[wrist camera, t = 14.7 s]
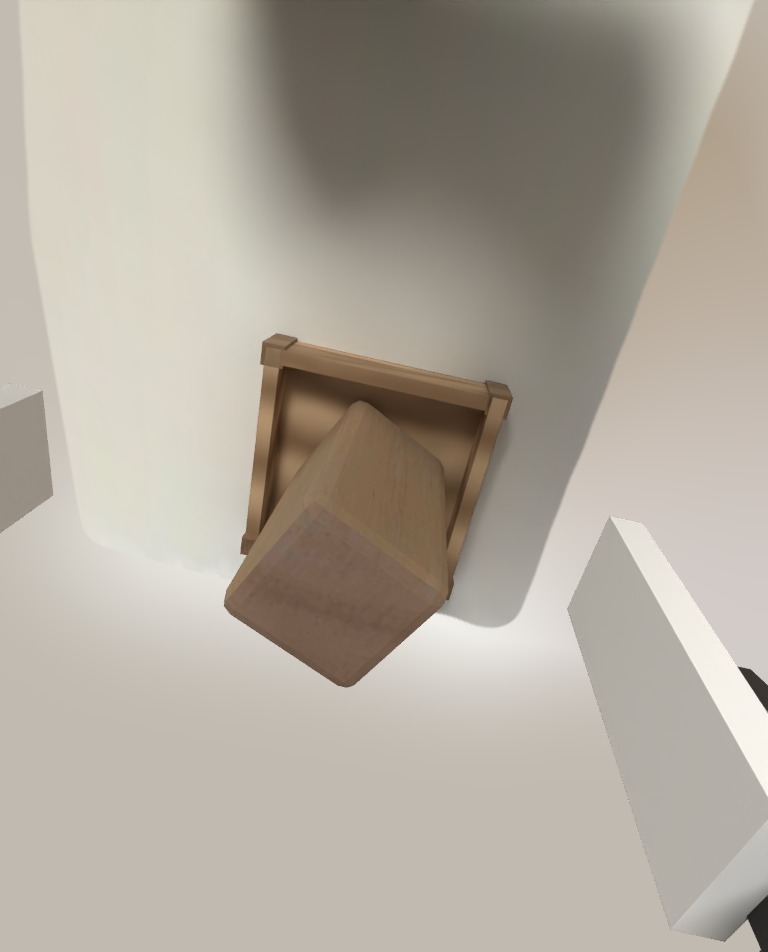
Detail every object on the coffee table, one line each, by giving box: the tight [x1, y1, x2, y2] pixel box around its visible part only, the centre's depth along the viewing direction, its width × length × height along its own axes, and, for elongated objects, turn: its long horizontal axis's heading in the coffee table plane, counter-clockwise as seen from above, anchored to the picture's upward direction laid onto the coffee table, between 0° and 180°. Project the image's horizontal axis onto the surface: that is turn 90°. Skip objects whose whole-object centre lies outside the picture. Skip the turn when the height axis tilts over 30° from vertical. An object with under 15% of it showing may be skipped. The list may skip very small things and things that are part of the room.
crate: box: [240, 334, 513, 600], centre depth 47 cm, size 20×20×4 cm
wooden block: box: [224, 400, 448, 687], centre depth 39 cm, size 10×10×20 cm
